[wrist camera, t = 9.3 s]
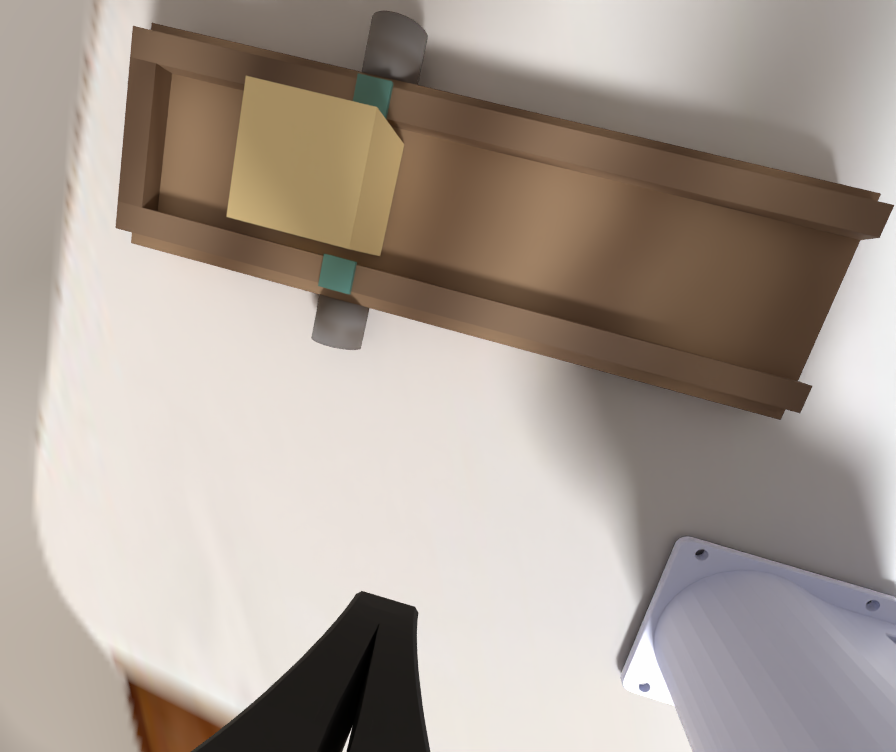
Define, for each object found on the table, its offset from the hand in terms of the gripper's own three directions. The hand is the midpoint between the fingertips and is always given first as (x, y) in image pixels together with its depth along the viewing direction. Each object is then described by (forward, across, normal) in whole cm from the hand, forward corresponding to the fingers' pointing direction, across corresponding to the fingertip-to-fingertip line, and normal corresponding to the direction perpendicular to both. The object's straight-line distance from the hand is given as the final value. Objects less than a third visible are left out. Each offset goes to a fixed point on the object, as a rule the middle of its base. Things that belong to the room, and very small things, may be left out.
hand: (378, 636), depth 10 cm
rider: (+9, +6, -10) cm, 15 cm away
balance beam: (+10, +1, -10) cm, 14 cm away
